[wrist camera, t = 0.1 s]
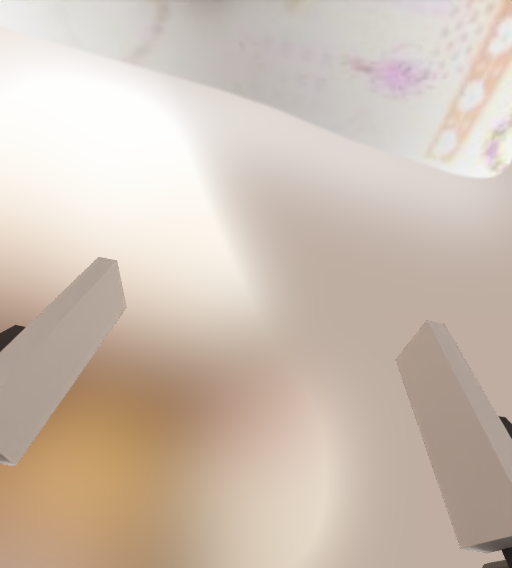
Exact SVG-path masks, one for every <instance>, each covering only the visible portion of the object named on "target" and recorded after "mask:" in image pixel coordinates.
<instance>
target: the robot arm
mask: <svg viewBox="0 0 512 568" xmlns="http://www.w3.org/2000/svg"><path fill="white" fill-rule="evenodd" d="M125 309H126V303H125V298H124V293H123V288H122V283H121V278H120V274H119V268H118V264H117V260H111V259H106V258H101V257H98V258H97V259H96V260H95V261H94V262H93V263H92V264H91V265H90V266H89V267H88V268H87V269H86V270H85V271H84V272H83V273H82V274H81V275H80V276H78V277H77V278H76V280H74V281H73V282H72V283H71V284H70V285H69V286H68V287H67V288H66V289H65V290H64V291H63V292H62V293H61V294H60V295H59V296H58V297H57V298H56V299H55V300H54V301H53V302H52V303H51V304H50V305H49V306H47V307H46V308H45V309H44V310H43V311H42V312H41V313H40V314H39V315H38V316H37V317H36V318H35V319H34V320H33V321H32V322H31V323H30V324H29V325H28V326H27V327H23V326H18V325H15V326H13V327H11V328H9V329H7V330H5V331H3V332H2V333H0V463H1V464H6V465H11V466H16V465H17V463H18V462H19V461H20V459H21V458H22V456H23V455H24V453H25V452H26V451H27V449H28V448H29V446H30V445H31V443H32V442H33V441H34V439H35V438H36V436H37V435H38V433H39V432H40V430H41V429H42V428H43V426H44V425H45V424H46V422H47V421H48V419H49V418H50V416H51V415H52V413H53V412H54V411H55V409H56V408H57V406H58V405H59V404H60V402H61V400H62V399H63V398H64V396H65V395H66V394H67V392H68V391H69V389H70V388H71V386H72V385H73V384H74V382H75V381H76V379H77V378H78V376H79V375H80V373H81V372H82V371H83V369H84V368H85V366H86V365H87V364H88V362H89V361H90V359H91V358H92V356H93V355H94V353H95V352H96V351H97V349H98V348H99V346H100V345H101V344H102V342H103V341H104V339H105V338H106V336H107V335H108V334H109V332H110V331H111V329H112V328H113V326H114V325H115V324H116V322H117V321H118V319H119V318H120V316H121V315H122V313H123V312H124V311H125ZM396 362H397V365H398V368H399V371H400V374H401V377H402V380H403V383H404V386H405V389H406V391H407V394H408V397H409V400H410V403H411V406H412V409H413V412H414V415H415V418H416V421H417V423H418V426H419V429H420V432H421V435H422V438H423V441H424V444H425V447H426V450H427V452H428V455H429V458H430V461H431V464H432V467H433V470H434V473H435V476H436V479H437V482H438V484H439V487H440V490H441V493H442V496H443V499H444V502H445V505H446V508H447V511H448V514H449V516H450V519H451V522H452V525H453V528H454V531H455V534H456V537H457V540H458V543H459V546H460V548H461V549H466V550H472V551H477V552H482V553H489V552H494V551H499V550H502V552H503V555H504V557H505V559H506V560H503V561H497V562H491V563H487V564H484V566H483V568H512V424H511V423H510V422H509V421H508V420H507V419H506V418H505V417H500V416H498V415H497V413H496V411H495V410H494V408H493V406H492V404H491V403H490V401H489V400H488V398H487V396H486V394H485V392H484V391H483V389H482V387H481V385H480V384H479V382H478V380H477V379H476V377H475V375H474V373H473V372H472V370H471V368H470V367H469V365H468V363H467V361H466V360H465V358H464V357H463V355H462V353H461V351H460V350H459V348H458V346H457V344H456V343H455V341H454V339H453V338H452V336H451V334H450V333H449V331H448V329H447V327H446V326H445V324H442V323H437V322H432V321H426V322H425V323H424V325H423V326H422V327H421V328H420V330H419V331H418V332H417V333H416V335H415V336H414V337H413V338H412V340H411V341H410V342H409V343H408V344H407V346H406V347H405V348H404V349H403V351H402V352H401V353H400V354H399V356H398V357H397V358H396Z"/></svg>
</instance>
